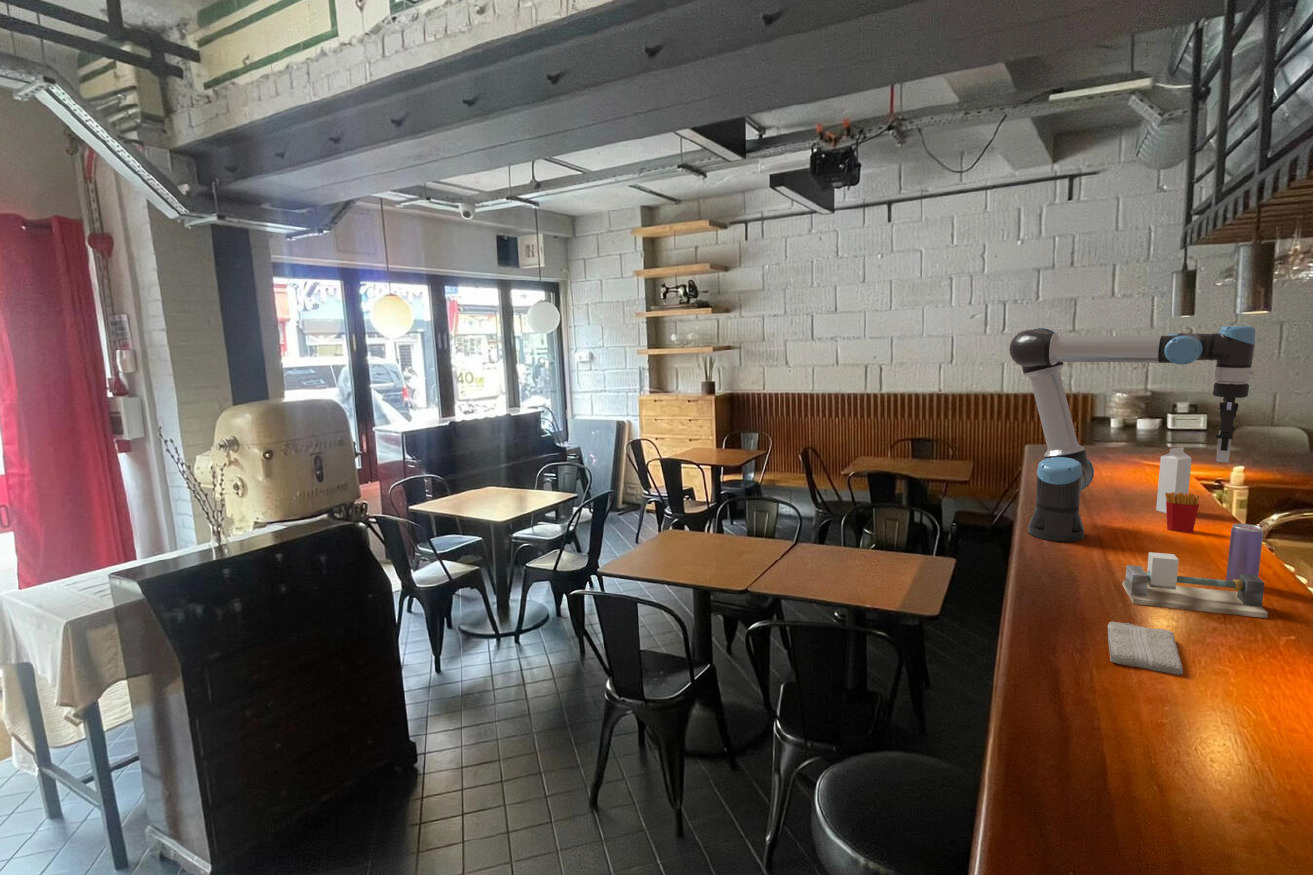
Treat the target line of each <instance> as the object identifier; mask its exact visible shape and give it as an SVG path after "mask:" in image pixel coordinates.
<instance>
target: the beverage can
mask: <svg viewBox="0 0 1313 875" xmlns="http://www.w3.org/2000/svg"><path fill="white" fill-rule="evenodd" d="M1263 530H1264V528H1263V527H1261V526H1259V525H1256V524H1249V523H1234V524H1232V528H1231V530H1230V539H1229V540H1230V541H1229V547H1228V548H1229V549H1228V559H1227V567H1226V574H1225V575H1226V576H1225V580H1227V581H1233V579H1239V576H1240V574H1251V575H1257V576H1258V577H1259V574H1260V566H1261V565H1260V564H1261V556H1262V549H1263V539H1264V532H1263Z"/></svg>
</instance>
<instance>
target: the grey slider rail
mask: <svg viewBox="0 0 1313 875" xmlns="http://www.w3.org/2000/svg"><path fill="white" fill-rule="evenodd" d="M1125 569H1126V570H1125V579H1124V580H1122V586H1123V588H1124V590H1125V592H1126V594H1127V595H1128V597H1129V599H1130V600H1131V602H1132V604H1135V605H1142V606H1153V607H1162V608H1168V609H1169V608H1171V609H1179V610H1187V611H1189V610H1190V611H1196V612H1197V611H1199V612H1205V613H1208V612H1209V613H1214V614H1215V613H1217V614H1224V615H1225V614H1226V615H1235V616H1242V617H1243V616H1245V617H1252V618H1253V617H1254V618H1262V619H1268V618H1269V617H1268V616H1269V612H1268V611H1267V610H1266V609H1264V607H1263V599H1264V592H1265V585H1266V584H1265V583H1266V582H1264V581H1263V580H1262V579H1261V578H1260V577H1259V575H1258V576H1257V575H1251V574H1240V576H1239V579H1233V581H1227V580H1226V579H1225V580H1224V579H1216V578H1204V577H1194V576H1193V577H1192V576H1184V575H1183V576H1182V575H1177V583H1178V584H1188V585H1196V586H1197V585H1198V586H1199V585H1200V586H1206V587H1207V586H1210V587H1216V588H1217V587H1220V588H1228V589H1232V590H1233V591H1231V590H1224V589H1222V590H1221V589H1211V588H1202V587H1192V586H1191V587H1190V586H1180V585H1176V590H1174V589H1164V588H1154V587H1150V586H1149V584H1148V583H1147V582H1148V580H1150V575H1151V573H1147V572H1146V571H1145V570H1144V568H1143V566H1142V565H1141V566H1140V565H1132V564H1126V568H1125ZM1177 583H1176V584H1177Z"/></svg>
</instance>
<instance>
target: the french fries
mask: <svg viewBox="0 0 1313 875" xmlns="http://www.w3.org/2000/svg"><path fill="white" fill-rule="evenodd" d="M1165 496H1166V500H1167V501H1166V513H1165V514H1166V529H1167V530H1168V531H1172V532H1180V533H1194V530H1195V524H1196V520H1197V515H1198V511H1199V508H1200V504H1199V499H1200V495H1198V494H1197V495H1195V494H1194V493H1192V492H1188V494H1187V493H1185V494H1183V493H1181V492H1178V494H1176V496H1175V493H1174V492H1172V494H1171V493H1169V494H1168V493H1165Z"/></svg>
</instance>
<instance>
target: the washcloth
mask: <svg viewBox="0 0 1313 875" xmlns="http://www.w3.org/2000/svg"><path fill="white" fill-rule="evenodd" d="M1107 641H1108V642H1107V643H1108V650H1109V660H1110V662H1112V663H1114V664H1117V665H1122V666H1129V667H1136V668H1141V669H1145V670H1147V669H1148V670H1151V671H1155V672H1159V673H1165V674H1166V673H1167V674H1172V675H1178V676H1180V675H1184V670H1183V667H1184V666H1183V664H1182V661H1181V657H1180V654H1179V649H1178V648H1177V647H1178V645H1177V643H1176V640H1175V635H1174V632H1172V631H1171V630H1169V629H1162V628H1151V627H1143V626H1139V625H1137V624H1132V623H1128V622H1126V623H1125V622H1116V621H1110V622H1108V624H1107Z"/></svg>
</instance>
